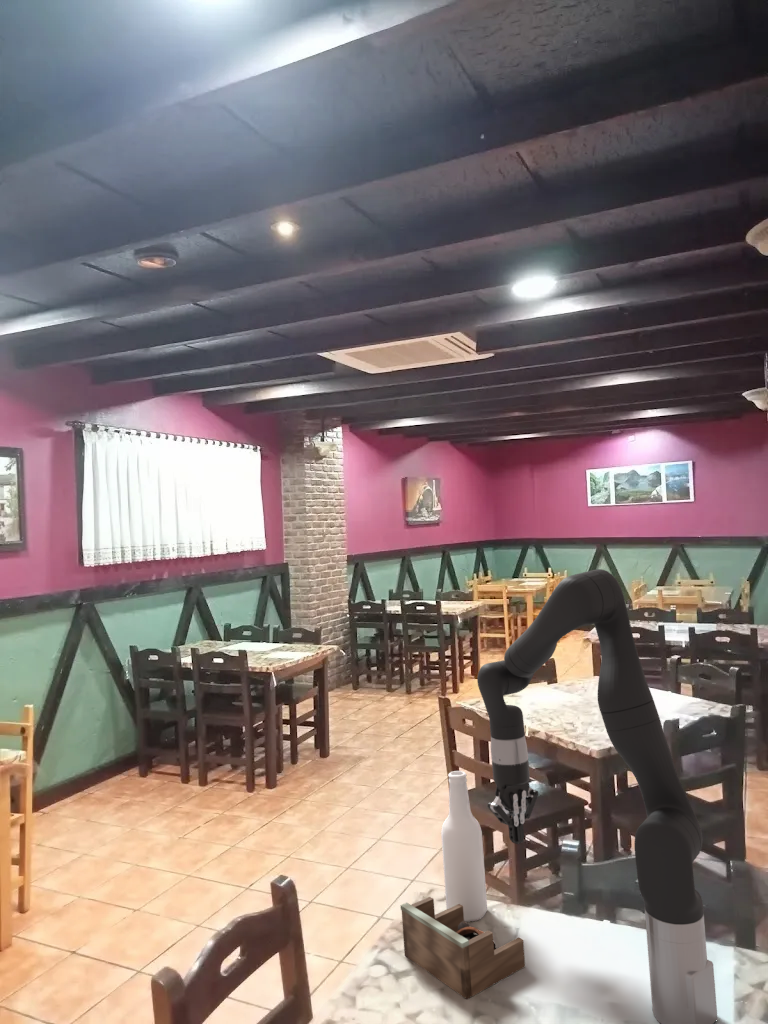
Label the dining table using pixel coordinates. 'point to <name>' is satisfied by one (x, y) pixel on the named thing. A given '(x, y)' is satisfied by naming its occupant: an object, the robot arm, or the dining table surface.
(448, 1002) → the dining table surface
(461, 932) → the pottery mug
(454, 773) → the alcohol
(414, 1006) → the dining table surface
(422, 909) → the brown stepped open box
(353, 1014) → the dining table surface
